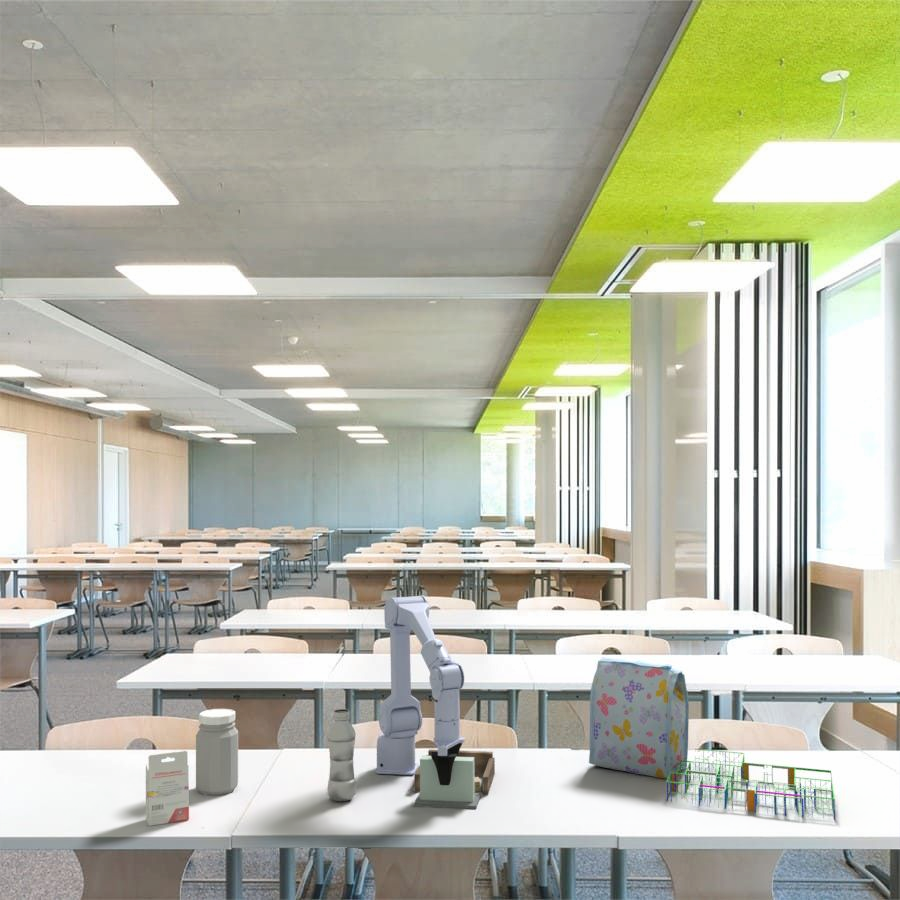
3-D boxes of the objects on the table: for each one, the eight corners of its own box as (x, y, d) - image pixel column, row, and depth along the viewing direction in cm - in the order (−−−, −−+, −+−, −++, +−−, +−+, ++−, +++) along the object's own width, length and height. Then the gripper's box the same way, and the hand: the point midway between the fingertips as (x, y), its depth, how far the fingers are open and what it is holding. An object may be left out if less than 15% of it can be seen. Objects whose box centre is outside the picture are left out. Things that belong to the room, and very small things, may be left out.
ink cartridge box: (186, 813, 202) (186, 745, 203) (189, 820, 198) (189, 750, 199) (144, 818, 199) (145, 749, 200) (147, 826, 195) (147, 755, 195)
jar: (241, 793, 215) (241, 715, 216) (198, 799, 211) (198, 719, 212) (234, 781, 224) (234, 706, 225) (193, 786, 220) (193, 710, 221)
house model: (666, 804, 207) (665, 782, 208) (681, 766, 235) (680, 747, 235) (835, 823, 195) (834, 800, 195) (830, 780, 223) (829, 760, 223)
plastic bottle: (361, 796, 212) (360, 708, 213) (348, 806, 206) (348, 715, 207) (335, 793, 215) (335, 706, 215) (322, 803, 208) (322, 713, 209)
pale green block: (420, 799, 208) (419, 759, 209) (422, 795, 211) (422, 755, 212) (473, 802, 206) (472, 761, 207) (474, 797, 209) (474, 757, 210)
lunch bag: (695, 765, 234) (693, 659, 236) (674, 783, 220) (672, 671, 221) (611, 752, 246) (610, 652, 247) (586, 769, 232) (585, 662, 233)
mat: (413, 806, 206) (413, 803, 206) (420, 794, 214) (420, 791, 214) (476, 808, 204) (476, 806, 204) (480, 796, 212) (480, 794, 212)
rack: (414, 791, 216) (414, 769, 216) (427, 769, 232) (426, 749, 233) (488, 794, 213) (487, 772, 213) (495, 772, 230) (495, 751, 230)
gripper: (460, 727, 202) (460, 790, 201) (468, 711, 216) (469, 770, 216) (428, 726, 203) (428, 789, 202) (438, 710, 217) (439, 768, 217)
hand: (447, 779), depth 209 cm, fingers open, 7 cm apart
